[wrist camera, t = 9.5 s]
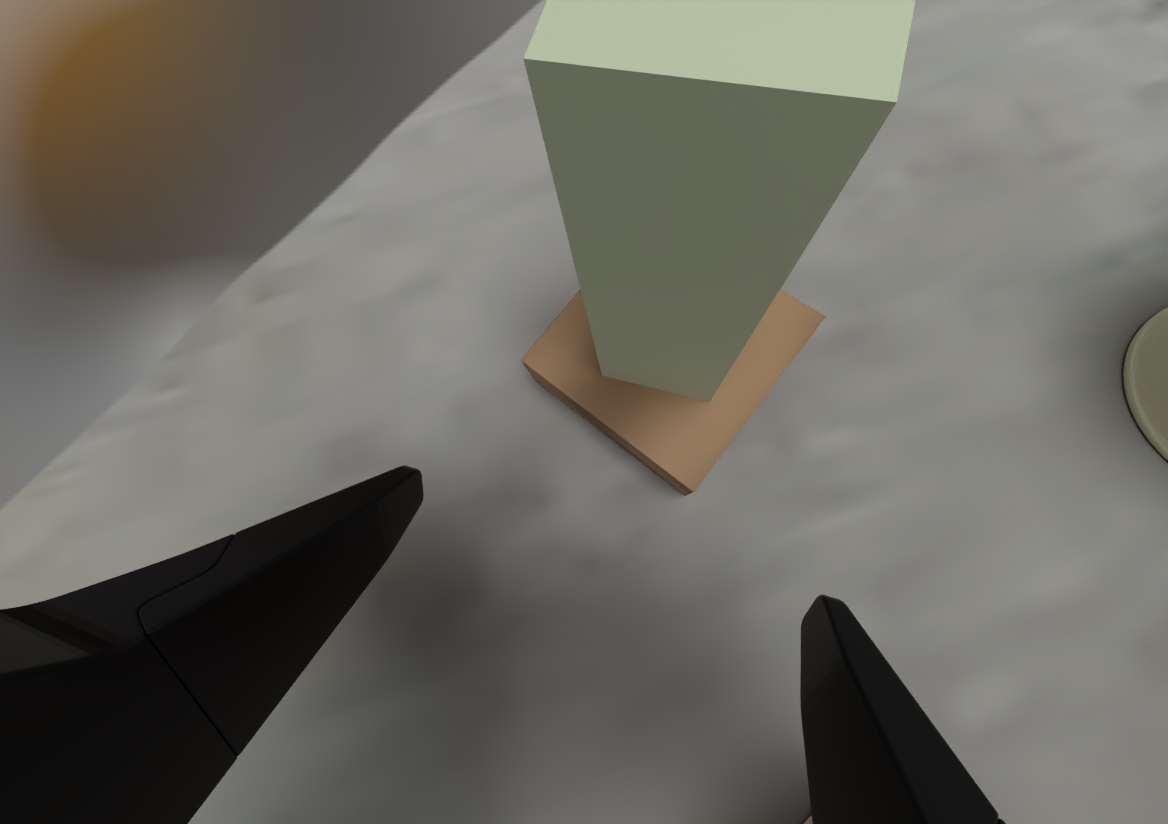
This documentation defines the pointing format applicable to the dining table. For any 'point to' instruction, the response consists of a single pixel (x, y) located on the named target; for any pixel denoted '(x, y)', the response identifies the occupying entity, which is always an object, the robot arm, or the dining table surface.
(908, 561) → the dining table surface
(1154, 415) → the can
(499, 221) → the dining table surface
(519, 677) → the dining table surface
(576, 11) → the sage post
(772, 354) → the walnut slab
